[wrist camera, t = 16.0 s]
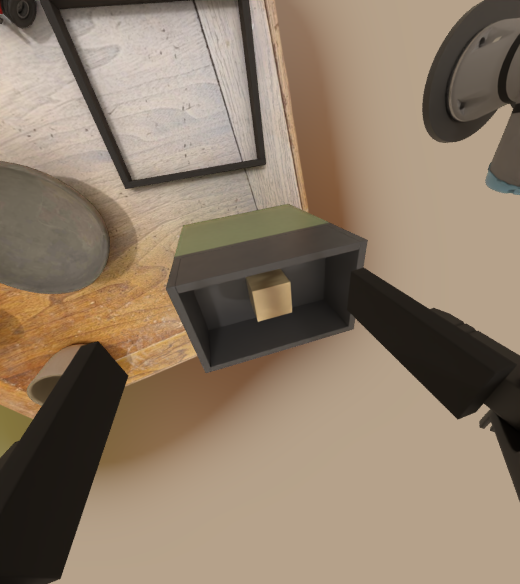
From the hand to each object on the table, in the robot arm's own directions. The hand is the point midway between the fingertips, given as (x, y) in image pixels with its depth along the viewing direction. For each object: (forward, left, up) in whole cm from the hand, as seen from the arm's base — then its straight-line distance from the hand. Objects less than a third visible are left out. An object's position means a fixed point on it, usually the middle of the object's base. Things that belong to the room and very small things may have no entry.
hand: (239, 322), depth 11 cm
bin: (-5, +11, -21) cm, 24 cm away
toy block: (-5, +11, -20) cm, 23 cm away
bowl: (+29, -1, -39) cm, 49 cm away
